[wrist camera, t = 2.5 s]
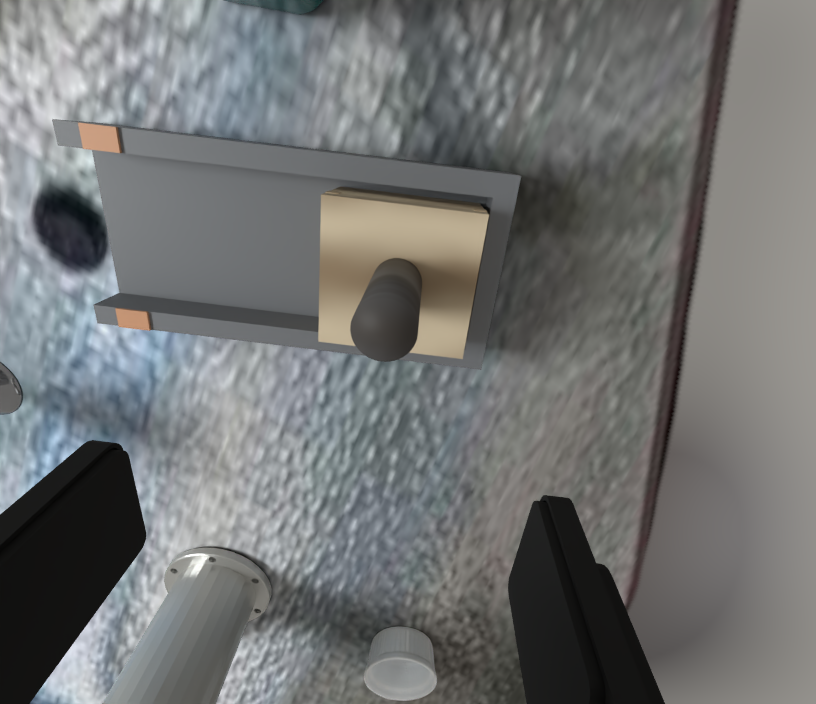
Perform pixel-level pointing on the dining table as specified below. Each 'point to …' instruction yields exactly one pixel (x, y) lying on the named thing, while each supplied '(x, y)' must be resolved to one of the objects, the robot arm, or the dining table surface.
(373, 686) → the ramekin
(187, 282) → the bay
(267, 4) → the pitcher
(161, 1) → the dining table surface
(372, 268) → the rubber stamp
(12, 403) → the wine glass
